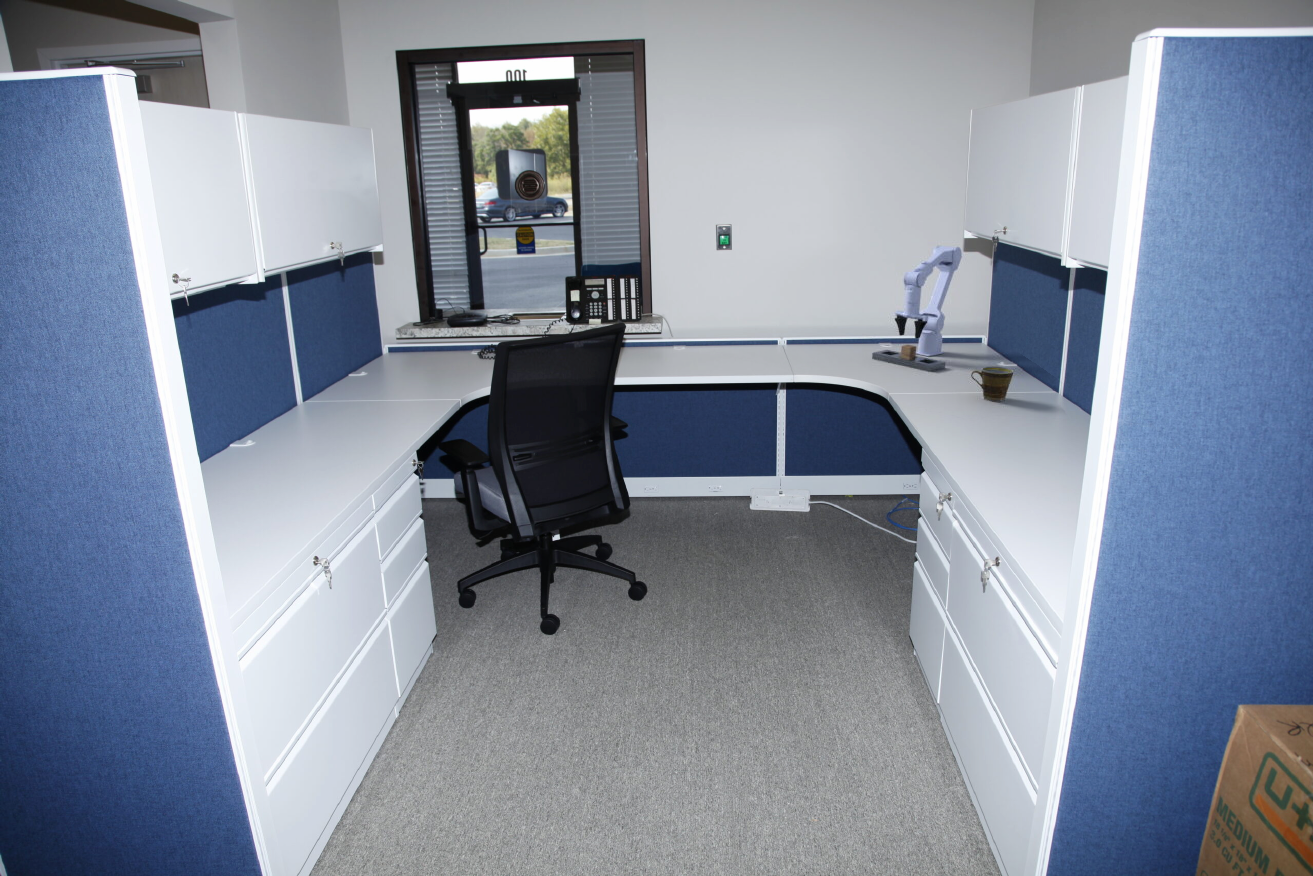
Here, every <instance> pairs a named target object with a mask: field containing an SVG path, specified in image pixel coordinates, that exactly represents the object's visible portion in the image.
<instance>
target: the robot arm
mask: <svg viewBox="0 0 1313 876" xmlns="http://www.w3.org/2000/svg"><path fill="white" fill-rule="evenodd" d="M962 257H963V256H962V249H961V248H960V247H959V246H942V245H937V246H935V247H934V248H933V251H932V255H931V256H930V257H929V258H928V259H927V260H925V261H923V260H922V261H921V262H920V263H919V264H918V265H917V266H916V267H915V268H914V269H913V270H909V271H908V272H906V273H905V275H904V278H903V284H904V290H905V296H904V297H905V299H904V311H902V310H895V311H894V317H895V318H894V320H895V321H894V322H896V326H897V330H898V333H899V336H905V331H906V324H907V321H908V319H911V320H914V322H913V323H914V327H915V332H914V338H915V339H918V347H917V350H916V355H921V356H926V357H932V356H937V355H941V354H944V351H942V347H943V334H942V333H941V332H942V330H943V329H944V325H945V324H944V323H945V319H946V316H945V315H944V313H943V312H942V307H943V305H944V302H945V298H946V296H947V293H948V291H949V288H950V285H951V282H952V280H953V277H954V273H955V271H957V270H958V268H959V265H960V263H961V260H962ZM935 267H936V269H938V270H939V275H938V276H937V277H938V278H937V280H936V284H935V286H934V290H933V292H932V294H931V298H930V301H929V304H928V306H927V307H926V308H924V309H922V310H921V311H920V307H921V297H922V288H923V286H924V285H925V283H926V281H927V278H928V277H929V276H931V274H933V272H934V269H935Z"/></svg>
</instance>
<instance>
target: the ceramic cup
mask: <svg viewBox="0 0 1313 876" xmlns="http://www.w3.org/2000/svg"><path fill="white" fill-rule="evenodd" d="M980 371H981V372H980ZM980 371H979V370H974V371H972V372H971V379H972V380H973V381H975V382H976V383H977V384H978V385H979V387H981V389H982V397H984V398H983V400H985V399H987V400H986V401H988V400H992V401H991V402H996V401H1000V402H1002V401H1001V400H1004V401H1005V400H1006V396H1007V393H1008V389H1009V387H1010V385H1011V381H1012V379H1013V376H1014V370H1013V369H1011V368H1007V367H1003V366H984V367H982V368H981V369H980ZM975 373H976V374H978V375H979V376H980V378H981V382H982V383H980V382H979V381H978V380H977V379H975V378H974V376H973V375H974V374H975Z"/></svg>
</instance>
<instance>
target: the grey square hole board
mask: <svg viewBox="0 0 1313 876" xmlns="http://www.w3.org/2000/svg"><path fill="white" fill-rule="evenodd" d="M871 359H872V360H877V361H880V362H884V363H890V364H893V365H898V366H903V367H907V368H911V369H917V370H920V371H923V372H928V373H929V372H930V373H931V372H935V371H940V370H945V369H946V363H947V362H946V361H942V360H937V359H933V358H929V357H924V356H918V355H916V358H914V359H905V358H901V351H895V350H890V349H883V350H879V351H874V352H872V358H871Z"/></svg>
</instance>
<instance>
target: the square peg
mask: <svg viewBox="0 0 1313 876" xmlns="http://www.w3.org/2000/svg"><path fill="white" fill-rule="evenodd" d="M900 348H901V350H900V352H901V358H905V359H914V358H916V356H917V354H916V351H917V348H918V347H917V345H912V344H904V345H901V347H900Z"/></svg>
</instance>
